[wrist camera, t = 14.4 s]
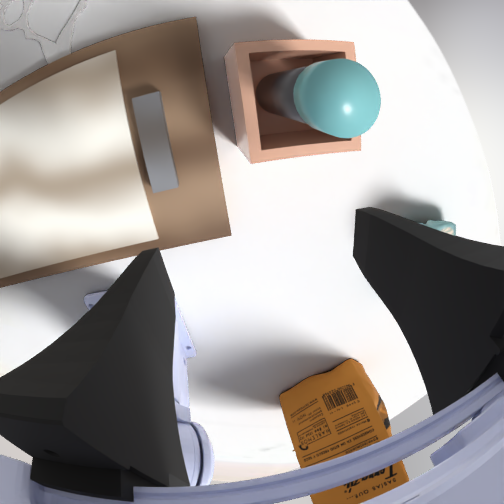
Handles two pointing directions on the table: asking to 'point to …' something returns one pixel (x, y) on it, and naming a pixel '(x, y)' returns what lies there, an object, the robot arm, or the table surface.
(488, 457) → the robot arm
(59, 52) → the scissors
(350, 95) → the marker
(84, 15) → the table surface
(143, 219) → the clipboard
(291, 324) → the table surface
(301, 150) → the pen cup
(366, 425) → the coffee package
